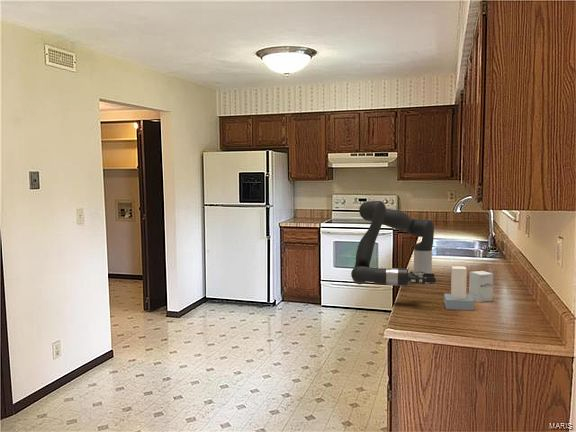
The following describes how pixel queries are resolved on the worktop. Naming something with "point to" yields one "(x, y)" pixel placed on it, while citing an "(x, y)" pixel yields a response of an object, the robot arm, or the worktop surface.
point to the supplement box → (481, 286)
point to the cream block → (458, 282)
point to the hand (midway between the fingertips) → (435, 278)
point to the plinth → (458, 303)
